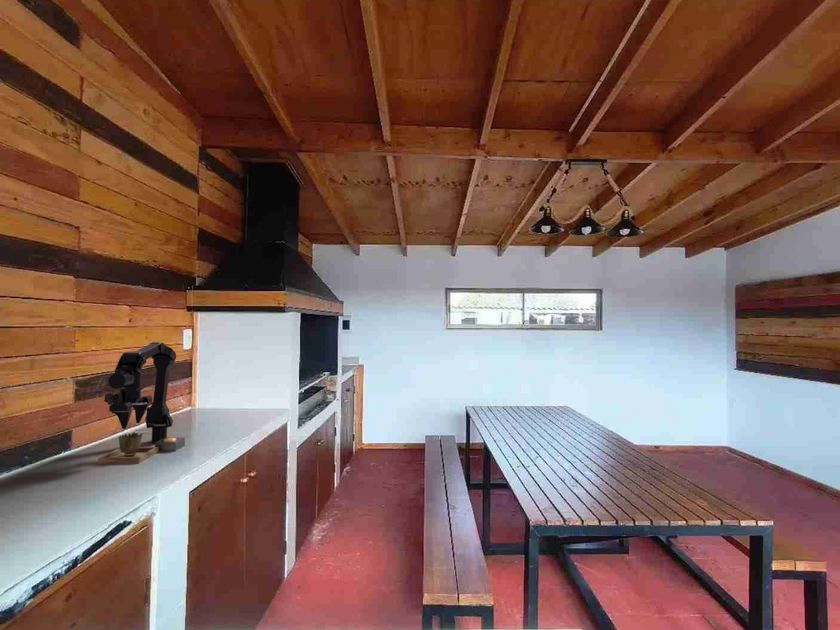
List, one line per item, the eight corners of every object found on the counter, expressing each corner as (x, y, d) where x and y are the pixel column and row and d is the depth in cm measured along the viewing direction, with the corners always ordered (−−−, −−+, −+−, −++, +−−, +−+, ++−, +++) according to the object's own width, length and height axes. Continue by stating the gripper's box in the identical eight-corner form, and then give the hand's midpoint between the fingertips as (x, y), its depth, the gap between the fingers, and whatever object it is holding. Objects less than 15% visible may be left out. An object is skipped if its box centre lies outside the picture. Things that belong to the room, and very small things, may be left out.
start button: (167, 443, 176) (167, 437, 177) (178, 443, 177) (178, 437, 177) (161, 446, 172) (161, 440, 172) (173, 446, 173) (173, 440, 173)
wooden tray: (121, 452, 168) (121, 447, 168) (158, 452, 169) (158, 446, 169) (97, 464, 154) (97, 458, 154) (138, 463, 155) (138, 457, 155)
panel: (164, 446, 178) (164, 437, 178) (184, 445, 179) (184, 437, 179) (154, 451, 170) (154, 442, 170) (175, 451, 171) (175, 442, 171)
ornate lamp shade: (146, 454, 164) (146, 433, 164) (127, 460, 157) (128, 438, 157) (132, 452, 167) (132, 431, 167) (113, 457, 160) (113, 436, 160)
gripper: (124, 381, 172) (123, 420, 172) (93, 388, 154) (92, 432, 154) (153, 381, 174) (152, 420, 173) (126, 388, 155) (125, 431, 155)
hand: (131, 425), depth 164 cm, fingers open, 9 cm apart
